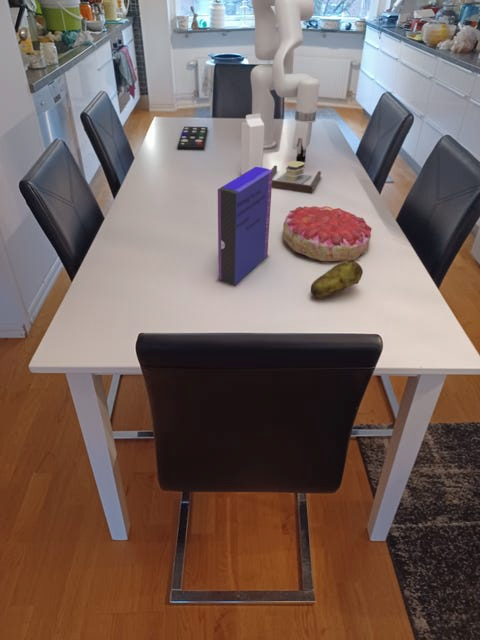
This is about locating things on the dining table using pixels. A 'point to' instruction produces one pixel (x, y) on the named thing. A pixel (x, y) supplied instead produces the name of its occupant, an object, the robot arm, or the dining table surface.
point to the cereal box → (243, 224)
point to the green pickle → (337, 279)
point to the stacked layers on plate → (294, 173)
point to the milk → (252, 143)
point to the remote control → (193, 138)
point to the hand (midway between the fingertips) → (300, 165)
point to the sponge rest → (295, 184)
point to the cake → (326, 233)
